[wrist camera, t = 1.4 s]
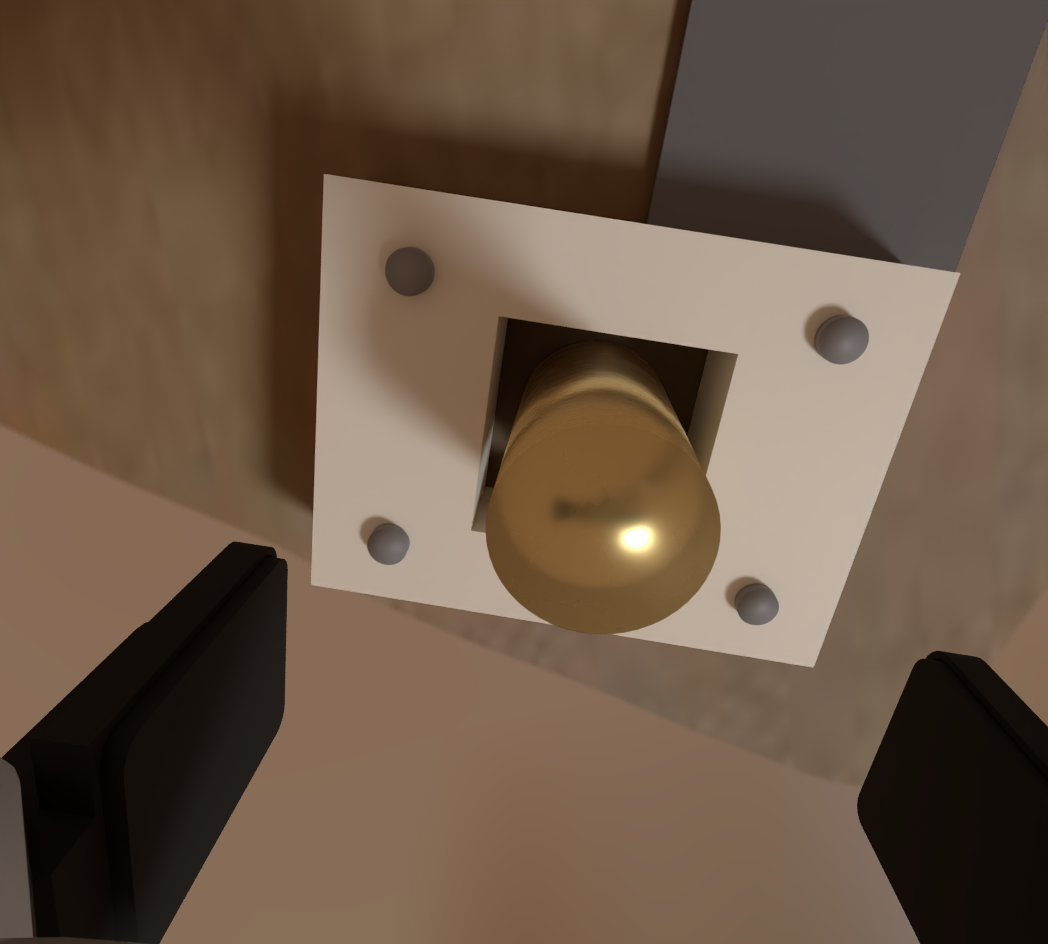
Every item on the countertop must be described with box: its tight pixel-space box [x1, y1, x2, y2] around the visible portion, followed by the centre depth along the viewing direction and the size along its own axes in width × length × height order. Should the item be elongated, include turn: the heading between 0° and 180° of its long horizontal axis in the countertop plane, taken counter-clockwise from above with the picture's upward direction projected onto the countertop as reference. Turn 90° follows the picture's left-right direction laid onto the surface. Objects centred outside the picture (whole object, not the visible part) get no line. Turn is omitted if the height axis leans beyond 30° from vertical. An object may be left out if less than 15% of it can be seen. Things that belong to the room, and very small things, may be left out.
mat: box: [646, 0, 1048, 272], centre depth 18 cm, size 9×9×1 cm
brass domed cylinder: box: [485, 340, 721, 634], centre depth 18 cm, size 5×5×9 cm
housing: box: [311, 174, 960, 667], centre depth 20 cm, size 16×12×4 cm
